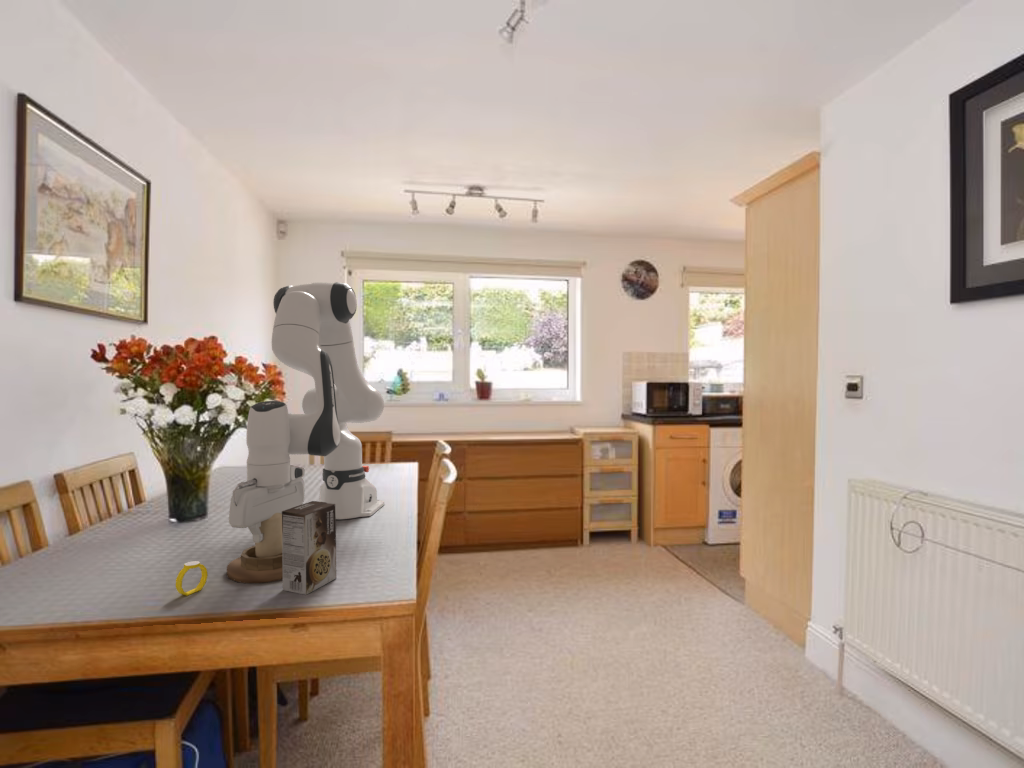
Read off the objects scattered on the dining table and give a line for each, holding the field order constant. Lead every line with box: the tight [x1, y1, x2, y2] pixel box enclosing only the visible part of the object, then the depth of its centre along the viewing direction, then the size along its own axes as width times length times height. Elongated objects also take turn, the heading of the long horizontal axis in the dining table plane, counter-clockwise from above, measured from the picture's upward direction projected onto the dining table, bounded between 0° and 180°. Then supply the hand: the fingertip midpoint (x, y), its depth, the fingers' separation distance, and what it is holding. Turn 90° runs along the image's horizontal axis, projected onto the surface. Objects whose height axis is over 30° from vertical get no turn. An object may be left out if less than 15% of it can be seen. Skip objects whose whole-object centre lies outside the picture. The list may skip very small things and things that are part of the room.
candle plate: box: [226, 545, 283, 584], centre depth 119 cm, size 17×17×4 cm
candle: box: [254, 513, 282, 558], centre depth 119 cm, size 6×6×10 cm
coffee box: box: [282, 500, 337, 596], centre depth 110 cm, size 9×6×16 cm
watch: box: [175, 560, 209, 597], centre depth 106 cm, size 6×3×6 cm, turn 159°
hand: (269, 536), depth 119 cm, fingers closed on candle, 5 cm apart
